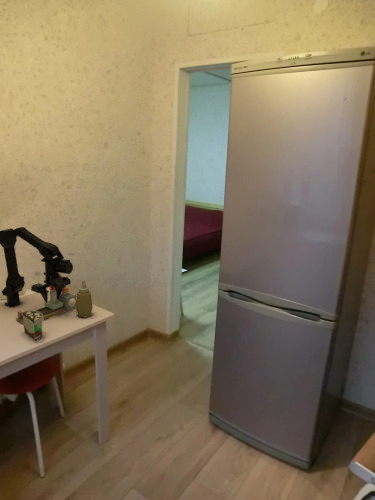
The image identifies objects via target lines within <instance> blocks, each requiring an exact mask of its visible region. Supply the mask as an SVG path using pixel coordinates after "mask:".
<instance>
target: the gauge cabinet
mask: <svg viewBox="0 0 375 500" xmlns="http://www.w3.org/2000/svg"><path fill="white" fill-rule="evenodd" d="M57 300H59V301H62V302H63V305H64V308H66V311H65V312H69V311H71V310H73V309H76V300H77V294H74V293H72V292H70V291H69V292H67V295H63V293H62V292H61V294H60V297H59V299H57Z"/></svg>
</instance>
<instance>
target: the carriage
mask: <svg viewBox="0 0 375 500" xmlns="http://www.w3.org/2000/svg"><path fill="white" fill-rule="evenodd" d="M49 297H50V300H48V301H47V303H46V302H45V301H43V305H44V306H43V307H48V308H50V309H53V310H54V309H56V308H59V307H62V306H63V302H62V301H59V300H57V295H56V290H51V291H50V290H49Z"/></svg>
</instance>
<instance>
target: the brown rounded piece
mask: <svg viewBox="0 0 375 500" xmlns="http://www.w3.org/2000/svg"><path fill="white" fill-rule="evenodd" d="M61 292H62V293H63V295H67V292H70V287H68V286H66V287H65V288H63V289H62V291H61Z"/></svg>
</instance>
